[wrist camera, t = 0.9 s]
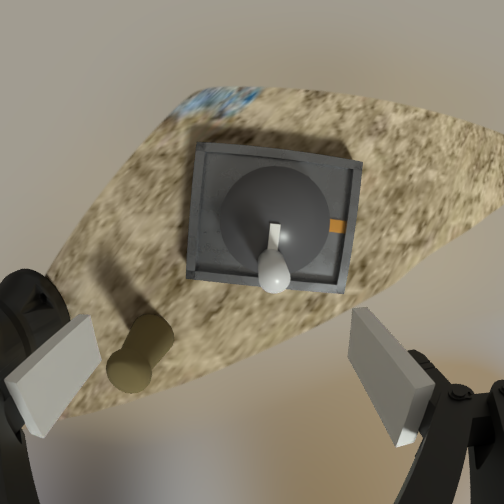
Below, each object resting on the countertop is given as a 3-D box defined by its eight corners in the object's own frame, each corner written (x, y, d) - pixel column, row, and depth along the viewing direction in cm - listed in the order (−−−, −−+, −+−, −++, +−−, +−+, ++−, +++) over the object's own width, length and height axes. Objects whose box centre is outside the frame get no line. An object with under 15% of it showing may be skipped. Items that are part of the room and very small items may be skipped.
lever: (228, 163, 32) (217, 153, 23) (329, 175, 32) (354, 170, 23) (218, 262, 34) (206, 288, 25) (316, 272, 34) (335, 300, 25)
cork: (133, 309, 38) (96, 348, 27) (176, 320, 38) (150, 365, 27) (131, 347, 39) (99, 392, 28) (172, 358, 39) (149, 408, 28)
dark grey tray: (191, 271, 37) (185, 278, 34) (201, 145, 34) (196, 141, 31) (337, 285, 37) (343, 293, 34) (354, 163, 34) (362, 161, 31)
